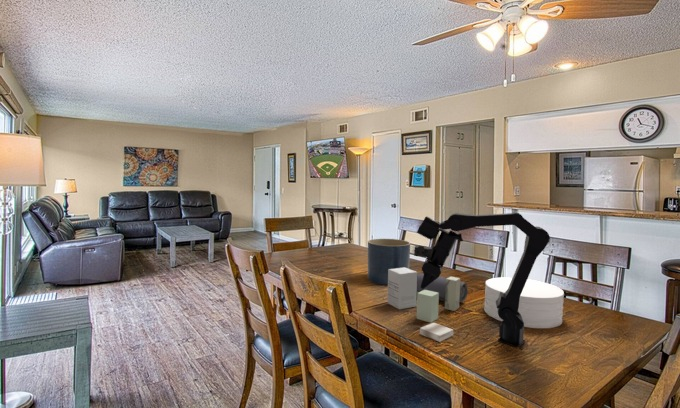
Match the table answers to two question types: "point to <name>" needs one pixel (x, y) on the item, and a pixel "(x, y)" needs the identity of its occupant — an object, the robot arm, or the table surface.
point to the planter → (386, 258)
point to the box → (452, 293)
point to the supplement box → (402, 288)
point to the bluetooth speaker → (441, 287)
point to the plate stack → (529, 302)
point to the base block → (436, 332)
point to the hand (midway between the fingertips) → (423, 284)
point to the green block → (427, 305)
